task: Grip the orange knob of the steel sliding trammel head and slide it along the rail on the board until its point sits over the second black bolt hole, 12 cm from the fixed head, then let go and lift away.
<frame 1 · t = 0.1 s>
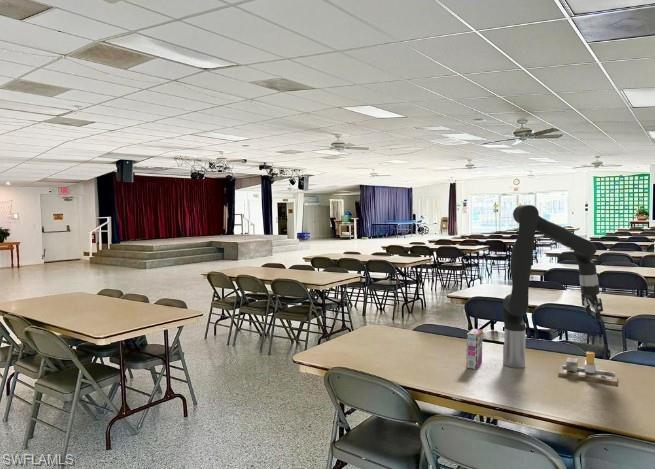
hand: (593, 318, 218), 22 cm above the table, fingers open, 8 cm apart
sliding trammel head: (590, 362, 204), point 6 cm above the table, slide at 7.0 cm
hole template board: (587, 377, 204), on the table
candy bar box: (474, 366, 220), on the table
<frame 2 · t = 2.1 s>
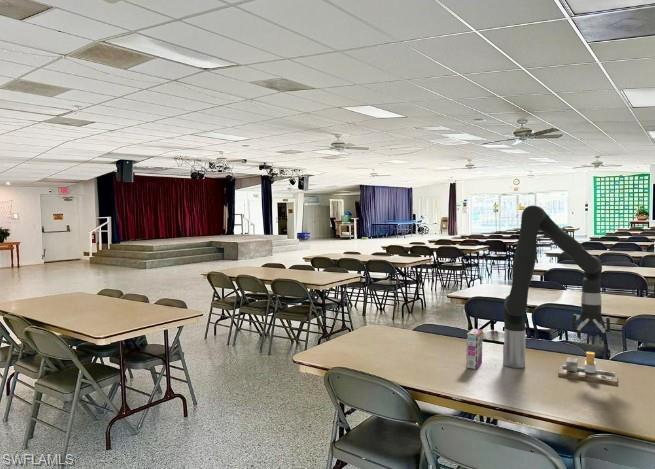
hand: (590, 339, 203), 17 cm above the table, fingers open, 8 cm apart
nothing on the table moved.
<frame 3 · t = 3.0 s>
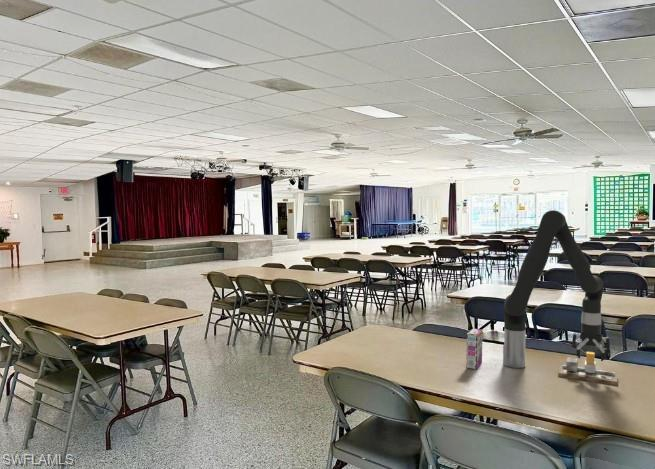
hand: (590, 359, 204), 8 cm above the table, fingers open, 8 cm apart
nothing on the table moved.
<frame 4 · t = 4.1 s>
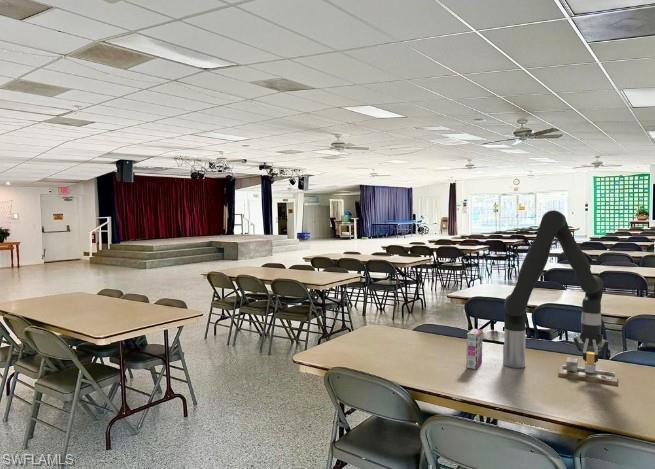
hand: (590, 361, 204), 7 cm above the table, fingers closed on sliding trammel head, 3 cm apart
sliding trammel head: (590, 362, 204), point 6 cm above the table, slide at 7.0 cm, touching gripper
everything else where it was.
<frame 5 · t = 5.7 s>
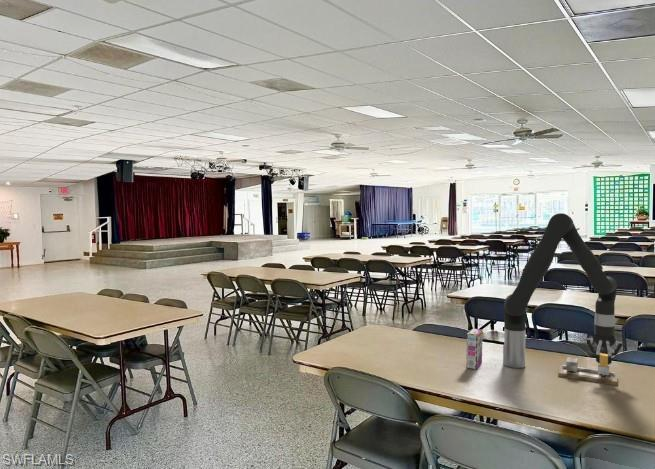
hand: (603, 363, 201), 7 cm above the table, fingers closed on sliding trammel head, 3 cm apart
sliding trammel head: (603, 364, 201), point 6 cm above the table, slide at 12.0 cm, touching gripper
everything else where it was.
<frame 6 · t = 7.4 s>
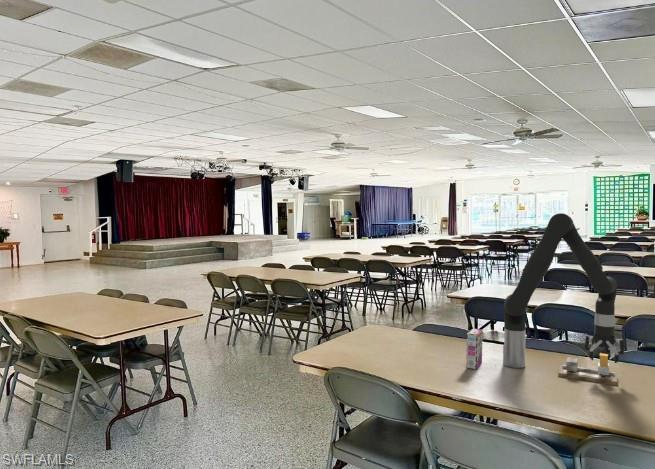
hand: (603, 361, 201), 8 cm above the table, fingers open, 8 cm apart
sliding trammel head: (603, 364, 201), point 6 cm above the table, slide at 12.0 cm
everything else where it was.
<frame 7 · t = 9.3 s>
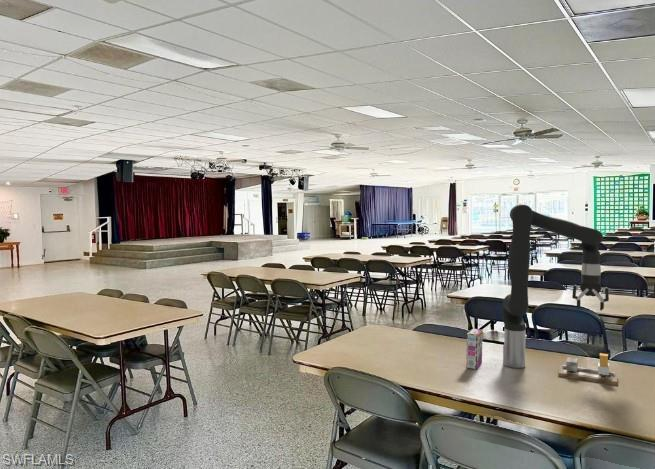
hand: (590, 309, 212), 28 cm above the table, fingers open, 8 cm apart
nothing on the table moved.
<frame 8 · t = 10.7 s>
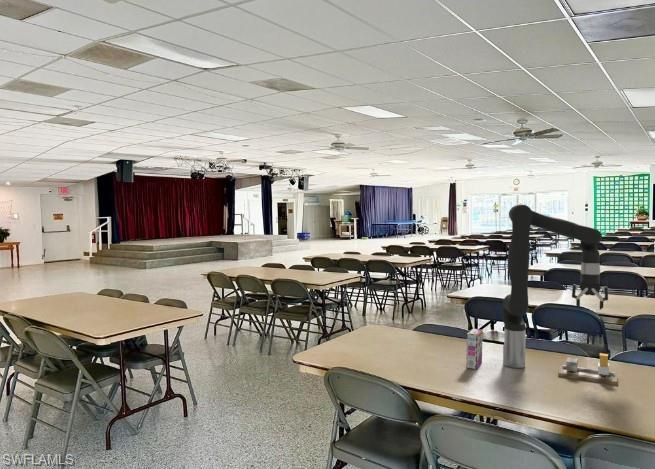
hand: (589, 308, 212), 28 cm above the table, fingers open, 8 cm apart
nothing on the table moved.
at the end: sliding trammel head slide at 12.0 cm; the gripper is holding nothing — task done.
